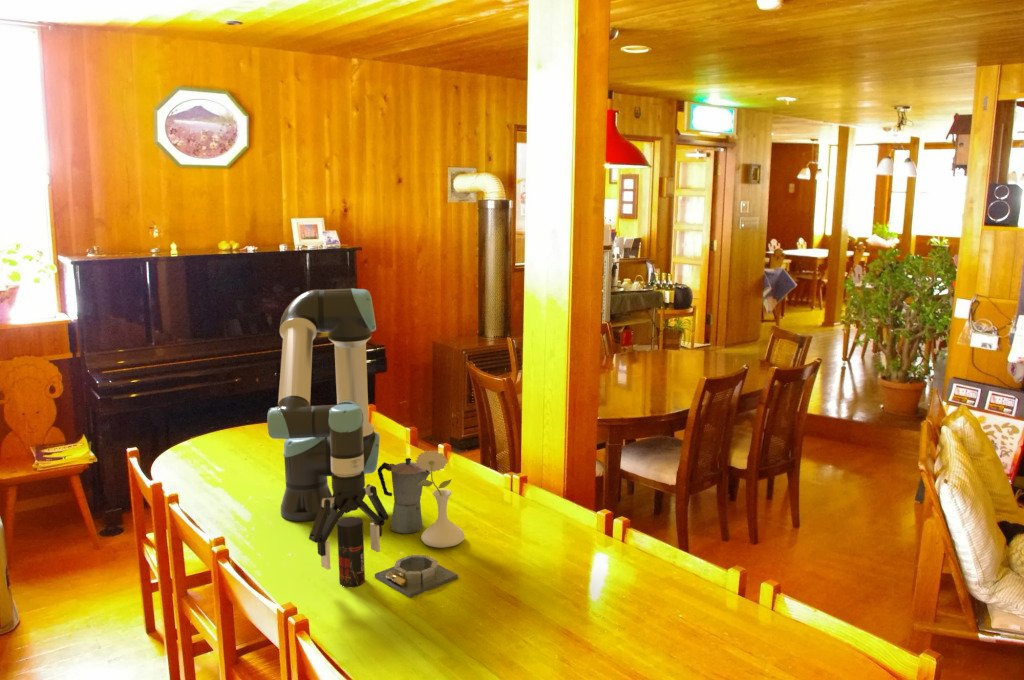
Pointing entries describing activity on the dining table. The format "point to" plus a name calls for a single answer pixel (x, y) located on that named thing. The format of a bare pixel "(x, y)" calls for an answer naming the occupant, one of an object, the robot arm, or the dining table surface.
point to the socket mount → (415, 575)
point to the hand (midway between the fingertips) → (351, 558)
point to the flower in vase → (439, 505)
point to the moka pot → (405, 495)
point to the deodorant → (351, 551)
